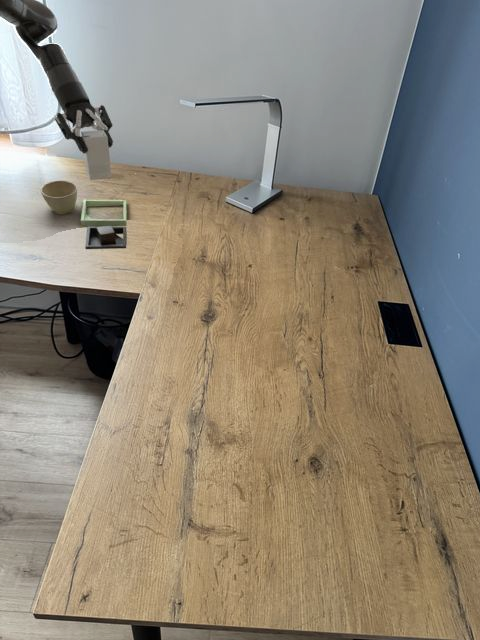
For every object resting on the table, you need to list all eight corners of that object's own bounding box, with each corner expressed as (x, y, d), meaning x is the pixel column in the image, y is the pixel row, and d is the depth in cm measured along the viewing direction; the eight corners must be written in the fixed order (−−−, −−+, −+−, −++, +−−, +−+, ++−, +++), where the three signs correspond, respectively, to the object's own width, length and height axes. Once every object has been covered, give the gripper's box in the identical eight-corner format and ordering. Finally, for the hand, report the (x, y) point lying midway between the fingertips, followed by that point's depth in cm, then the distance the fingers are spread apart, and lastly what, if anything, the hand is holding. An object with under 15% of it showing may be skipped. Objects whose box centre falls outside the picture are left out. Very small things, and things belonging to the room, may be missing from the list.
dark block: (101, 247, 138) (99, 234, 136) (98, 239, 141) (96, 227, 138) (116, 245, 140) (114, 232, 137) (112, 237, 142) (111, 225, 140)
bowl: (41, 217, 148) (35, 195, 143) (52, 200, 155) (47, 178, 150) (75, 220, 148) (70, 198, 143) (85, 203, 155) (81, 181, 150)
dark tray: (86, 255, 136) (85, 246, 134) (88, 234, 143) (87, 226, 142) (126, 254, 138) (126, 246, 136) (126, 234, 146) (126, 226, 144)
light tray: (81, 228, 145) (80, 220, 144) (84, 207, 154) (83, 199, 152) (126, 228, 148) (126, 220, 146) (126, 207, 157) (126, 200, 155)
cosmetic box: (107, 171, 143) (104, 128, 134) (112, 179, 140) (108, 136, 131) (85, 173, 140) (80, 130, 131) (89, 181, 138) (84, 137, 129)
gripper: (45, 84, 123) (78, 148, 126) (96, 76, 132) (126, 137, 135) (38, 100, 129) (70, 161, 132) (87, 92, 138) (116, 149, 141)
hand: (98, 149), depth 133 cm, fingers closed on cosmetic box, 7 cm apart
